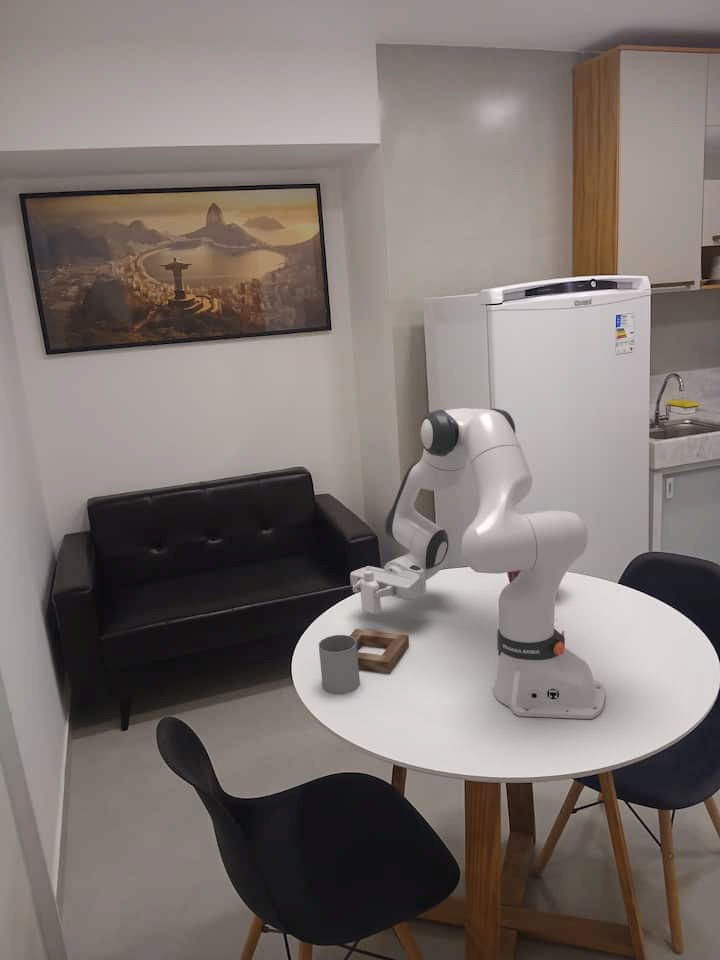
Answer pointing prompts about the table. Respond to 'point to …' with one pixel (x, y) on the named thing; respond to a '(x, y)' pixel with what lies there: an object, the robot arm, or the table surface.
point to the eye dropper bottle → (369, 593)
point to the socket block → (388, 641)
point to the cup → (339, 664)
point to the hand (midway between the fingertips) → (365, 592)
